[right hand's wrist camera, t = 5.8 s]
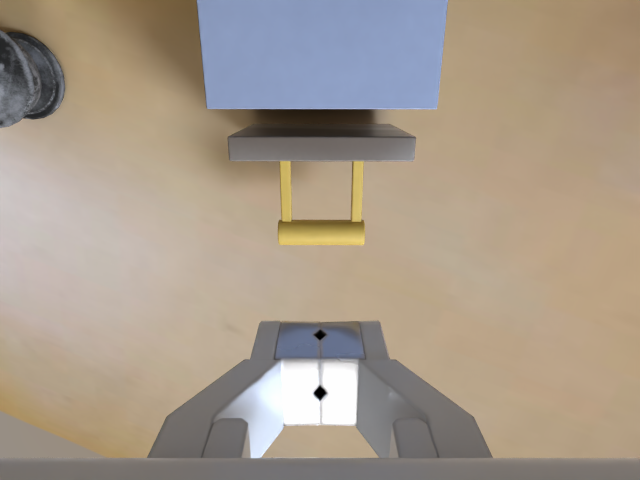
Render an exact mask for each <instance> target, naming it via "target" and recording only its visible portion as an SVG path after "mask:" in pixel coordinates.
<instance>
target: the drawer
mask: <svg viewBox="0 0 640 480" xmlns="http://www.w3.org/2000/svg"><path fill="white" fill-rule="evenodd" d="M415 143H416V137H414V136H412V135H410V134H408V133H406V132H405V131H403V130H401V129H399V128H397V127H395V126H393V125H391V124H252V125H250V126H248V127H246V128H244V129H242V130H240V131H238V132H236V133H234V134H233V135H231V136H229V137H228V150H229V160H230V161H280V189H281V218H282V220H279V222H278V242H279V245H364V241H365V224H364V220H361V215H362V189H363V164H364V161H414V155H415ZM291 161H352V194H351V220H292V196H291Z"/></svg>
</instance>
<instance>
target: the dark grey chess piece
mask: <svg viewBox="0 0 640 480" xmlns="http://www.w3.org/2000/svg"><path fill="white" fill-rule="evenodd" d="M64 91H65V84H64V76H63V73H62V70H61V67H60V65H59V63H58V61H57V60H56V58H55V56H54V55H53V54H52V53H51V51H50V50H49V49H48V48H47V47H46V46H45V45H44V44H42V43H41V42H39V41H38V40H37V39H35V38H33V37H31V36H28V35H26V34H23V33H16V32H7V33H4V32H3V31H2V30H0V128H2V127H9V126H11V125H13V124H15V123H17V122H19V121H20V120H21V119H22V118H26V119H39V118H44V117H46V116H49V115H51V114H52V113H53V112H54V111H55V110H56V109H57V108H58V107H59V106H60V104H61V102H62V100H63V97H64Z"/></svg>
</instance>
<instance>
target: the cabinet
mask: <svg viewBox="0 0 640 480" xmlns="http://www.w3.org/2000/svg"><path fill="white" fill-rule="evenodd" d="M447 3H448V0H197V11H198V21H199V32H200V43H201V53H202V64H203V74H204V85H205V95H206V106H207V109H437V104H438V94H439V84H440V74H441V64H442V54H443V44H444V34H445V24H446V13H447Z"/></svg>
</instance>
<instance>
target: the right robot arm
mask: <svg viewBox="0 0 640 480" xmlns="http://www.w3.org/2000/svg"><path fill="white" fill-rule="evenodd" d="M296 425H344V426H357V427H356V428H357V429H358V430H359V432H360V433H361V434H362V435H363V437H364V438H365V439H366V441H367V442H368V443H369V445H370V446H371V447H372V448H373V450H374V451H375V452H376V454H377V455H378V456H379V458H261V457H262V455H263V454H264V453H265V451H266V450H267V449H268V447H269V446H270V445H271V444H272V442H273V441H274V440H275V438H276V437H277V436H278V435H279V433H280V432H281V431H282V429H283V428H284V426H296ZM0 480H640V458H493V457H492V455H491V453H490V451H489V448H488V446H487V444H486V442H485V440H484V438H483V436H482V434H481V431H480V429H479V427H478V425H477V423H476V421H475V419H474V417H473V416H472V415H470V414H469V413H467V412H466V411H465V410H463V409H462V408H461V407H459V406H458V405H457V404H455V403H454V402H453V401H451V400H450V399H449V398H447V397H446V396H444V395H443V394H442V393H440V392H439V391H438V390H436V389H435V388H434V387H432V386H431V385H430V384H428V383H427V382H425V381H424V380H423V379H421V378H420V377H419V376H417V375H416V374H415V373H413V372H412V371H411V370H409V369H408V368H406V367H405V366H404V365H402V364H401V363H400V362H398V361H397V360H390V358H389V354H388V350H387V346H386V343H385V339H384V335H383V331H382V328H381V324H380V322H379V321H351V322H308V321H261V322H260V323H259V327H258V331H257V335H256V339H255V342H254V346H253V350H252V354H251V358H250V360H243V361H242V362H240V363H239V364H238V365H236V366H235V367H234V368H232V369H231V370H229V371H228V372H227V373H225V374H224V375H223V376H221V377H220V378H219V379H217V380H216V381H214V382H213V383H212V384H210V385H209V386H208V387H206V388H205V389H204V390H202V391H201V392H199V393H198V394H197V395H195V396H194V397H193V398H191V399H190V400H189V401H187V402H186V403H184V404H183V405H182V406H180V407H179V408H178V409H176V410H175V411H174V412H172V413H171V414H169V415H168V416H167V417H166V419H165V421H164V423H163V425H162V428H161V430H160V432H159V434H158V436H157V438H156V440H155V442H154V444H153V446H152V449H151V451H150V453H149V455H148V457H147V458H0Z"/></svg>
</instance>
